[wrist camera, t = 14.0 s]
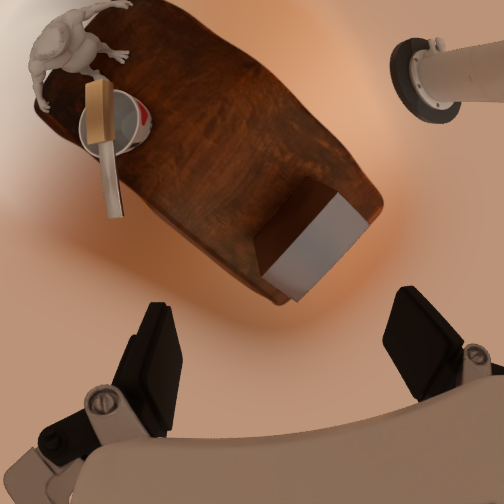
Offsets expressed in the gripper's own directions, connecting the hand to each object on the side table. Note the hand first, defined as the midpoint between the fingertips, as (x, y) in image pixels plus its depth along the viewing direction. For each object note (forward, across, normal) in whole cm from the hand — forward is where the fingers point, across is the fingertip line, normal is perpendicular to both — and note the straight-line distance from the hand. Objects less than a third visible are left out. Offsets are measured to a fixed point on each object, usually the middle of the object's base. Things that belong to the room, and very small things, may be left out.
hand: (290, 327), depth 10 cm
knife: (+21, +16, -7) cm, 28 cm away
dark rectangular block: (+31, -7, +6) cm, 32 cm away
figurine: (+31, +21, -21) cm, 43 cm away
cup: (+31, +16, -10) cm, 37 cm away
